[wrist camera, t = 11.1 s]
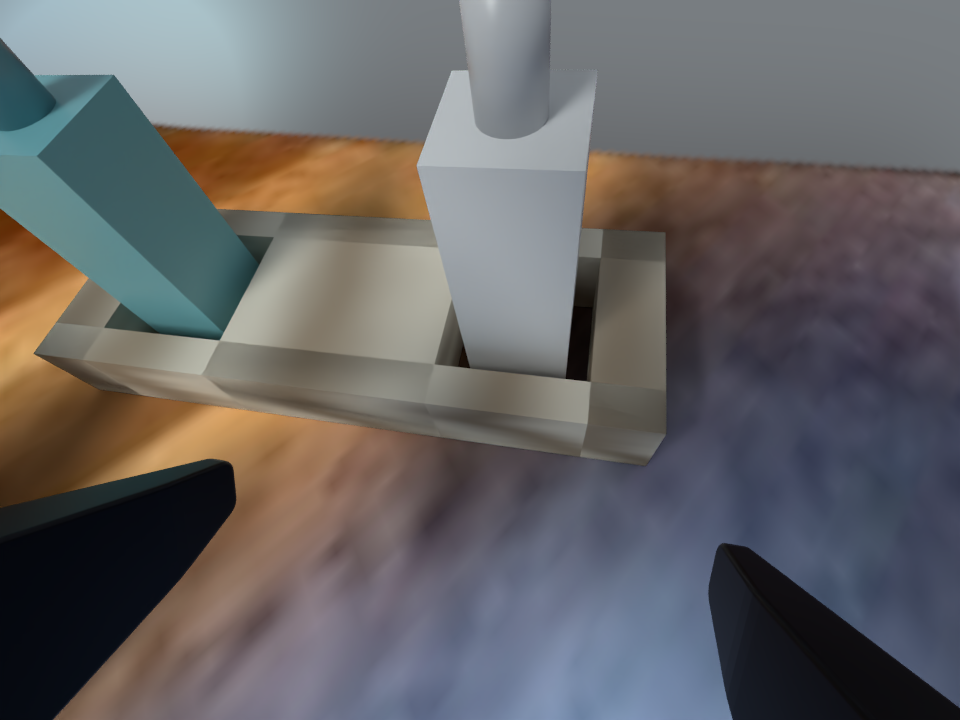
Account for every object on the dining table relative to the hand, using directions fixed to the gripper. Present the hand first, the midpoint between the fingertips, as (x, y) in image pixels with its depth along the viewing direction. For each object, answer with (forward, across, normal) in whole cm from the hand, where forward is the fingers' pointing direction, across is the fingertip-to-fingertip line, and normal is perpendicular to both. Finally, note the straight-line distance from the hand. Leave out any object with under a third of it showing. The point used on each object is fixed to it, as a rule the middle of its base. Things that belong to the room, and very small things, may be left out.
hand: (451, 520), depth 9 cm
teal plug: (+11, +13, 0) cm, 17 cm away
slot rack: (+11, +7, 0) cm, 13 cm away
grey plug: (+11, 0, 0) cm, 11 cm away
